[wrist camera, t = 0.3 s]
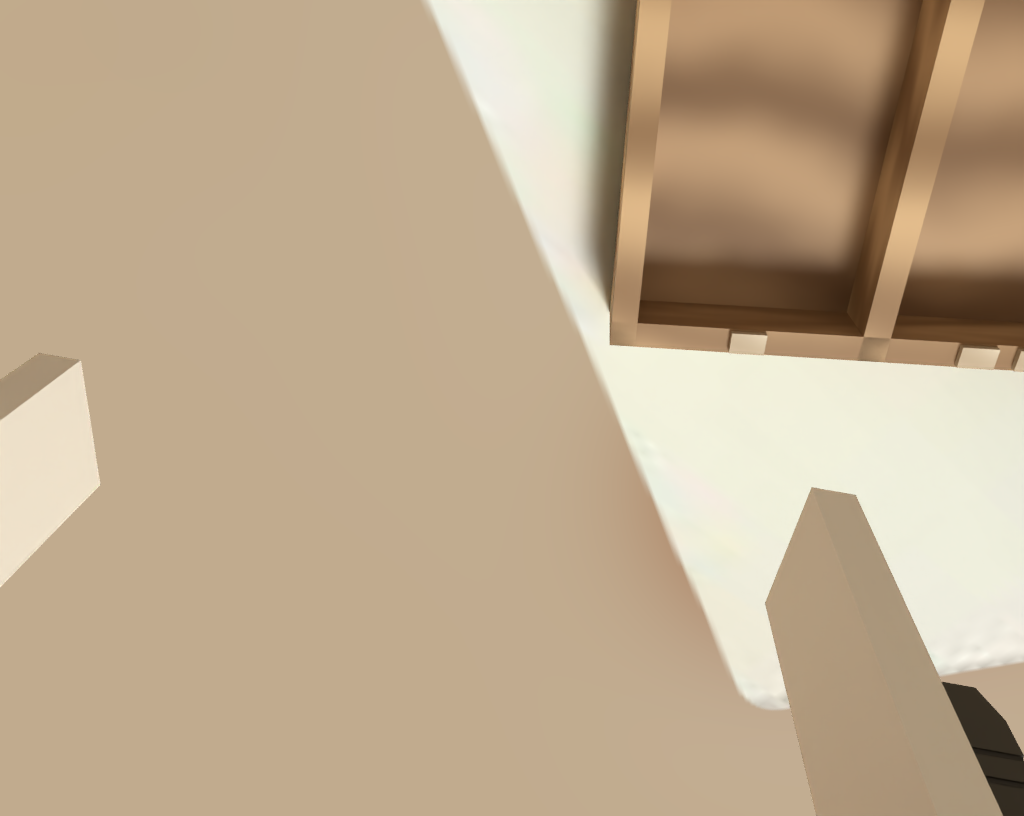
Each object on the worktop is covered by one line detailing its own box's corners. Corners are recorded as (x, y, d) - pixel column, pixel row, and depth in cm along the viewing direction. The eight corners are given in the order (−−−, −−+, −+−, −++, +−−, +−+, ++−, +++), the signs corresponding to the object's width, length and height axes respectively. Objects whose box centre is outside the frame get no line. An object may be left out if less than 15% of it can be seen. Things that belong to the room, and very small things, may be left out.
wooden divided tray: (650, -155, 31) (655, -171, 28) (1306, -148, 29) (1407, -165, 26) (609, 313, 41) (609, 347, 37) (1099, 342, 39) (1150, 381, 35)
